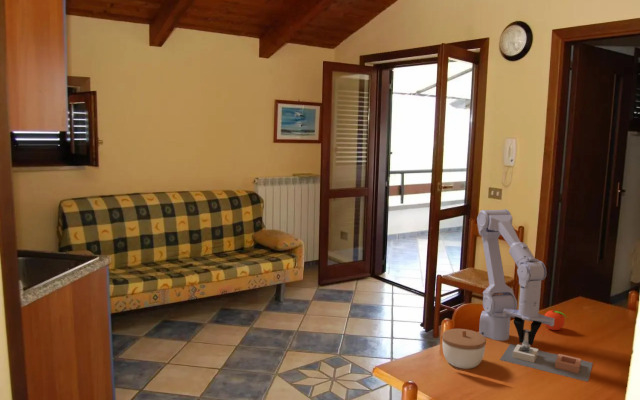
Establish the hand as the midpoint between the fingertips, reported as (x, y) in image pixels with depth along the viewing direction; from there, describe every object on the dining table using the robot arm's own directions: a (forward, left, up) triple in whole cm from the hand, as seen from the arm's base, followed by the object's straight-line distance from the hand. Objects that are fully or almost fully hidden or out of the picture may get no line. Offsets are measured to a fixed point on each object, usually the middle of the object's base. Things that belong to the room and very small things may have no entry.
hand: (526, 342), depth 157 cm
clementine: (+4, +31, -6) cm, 32 cm away
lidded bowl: (-15, -15, -6) cm, 22 cm away
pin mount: (0, 0, -4) cm, 4 cm away
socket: (+12, 0, -4) cm, 13 cm away
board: (+6, 0, -5) cm, 8 cm away
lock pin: (0, 0, -3) cm, 3 cm away
